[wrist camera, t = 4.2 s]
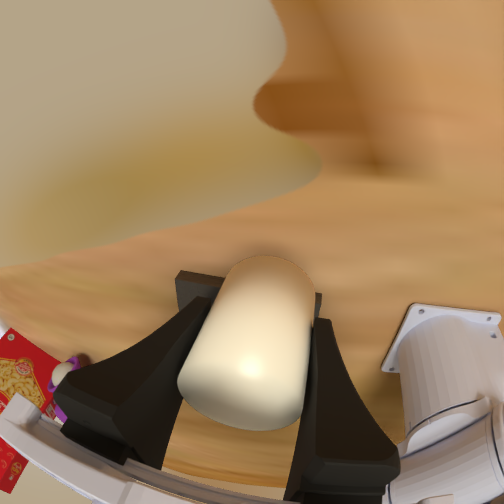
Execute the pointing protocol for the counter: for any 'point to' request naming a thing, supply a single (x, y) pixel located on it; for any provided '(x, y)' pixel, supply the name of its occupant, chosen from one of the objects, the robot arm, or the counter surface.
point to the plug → (253, 347)
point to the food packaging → (22, 393)
